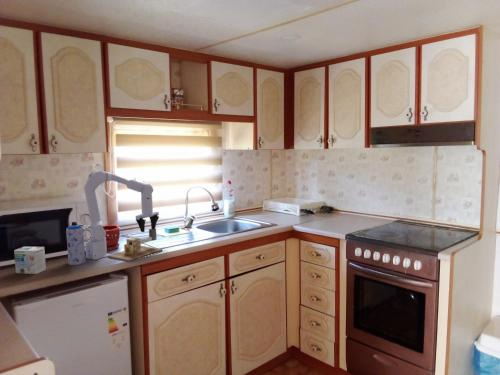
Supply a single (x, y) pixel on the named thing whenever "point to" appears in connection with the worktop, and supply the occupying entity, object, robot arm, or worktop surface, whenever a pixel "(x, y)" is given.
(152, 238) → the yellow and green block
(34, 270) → the light bulb box
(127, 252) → the brass spacer
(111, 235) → the plant pot
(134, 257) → the bearing stand
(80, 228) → the patterned water bottle
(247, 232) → the worktop surface
